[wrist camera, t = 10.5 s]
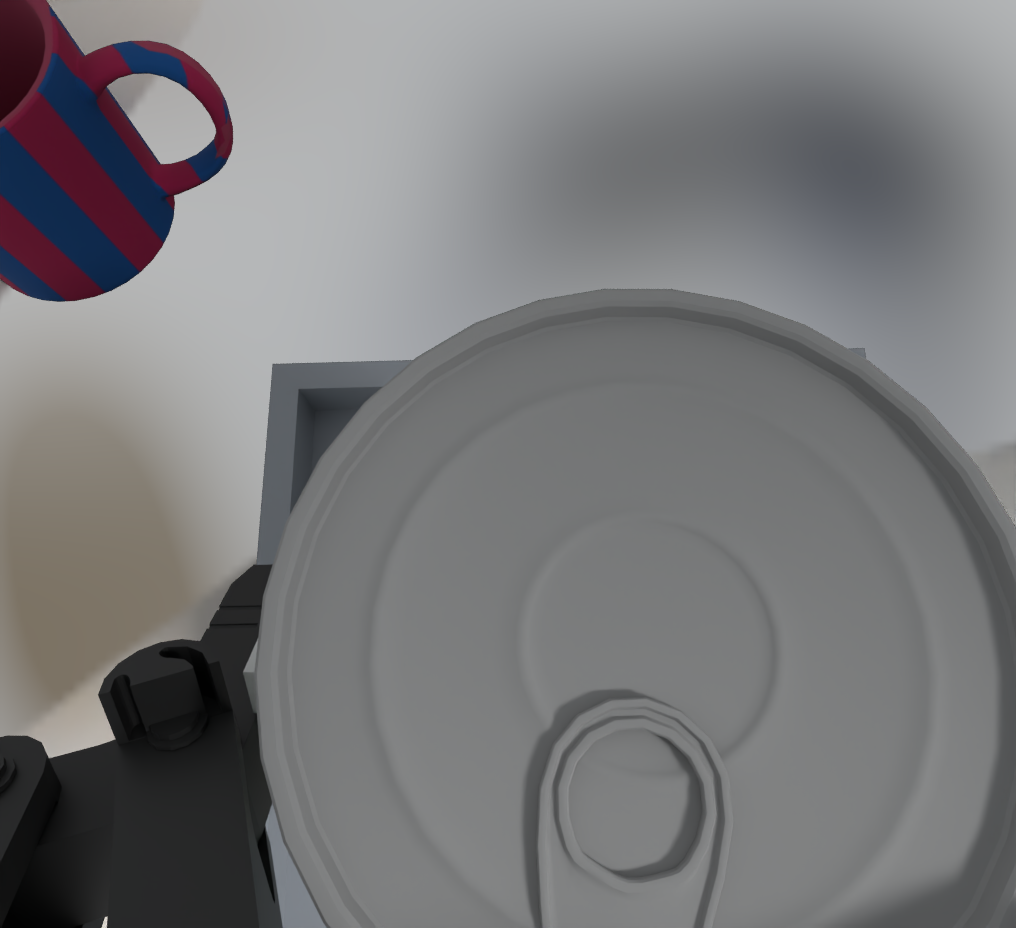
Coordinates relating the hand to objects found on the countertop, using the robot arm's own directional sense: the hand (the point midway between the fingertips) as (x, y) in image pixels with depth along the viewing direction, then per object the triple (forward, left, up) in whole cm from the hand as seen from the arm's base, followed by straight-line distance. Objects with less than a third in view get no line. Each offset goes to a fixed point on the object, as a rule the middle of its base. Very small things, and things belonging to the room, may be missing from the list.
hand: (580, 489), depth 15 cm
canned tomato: (0, +3, -4) cm, 5 cm away
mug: (+15, -12, -7) cm, 21 cm away
